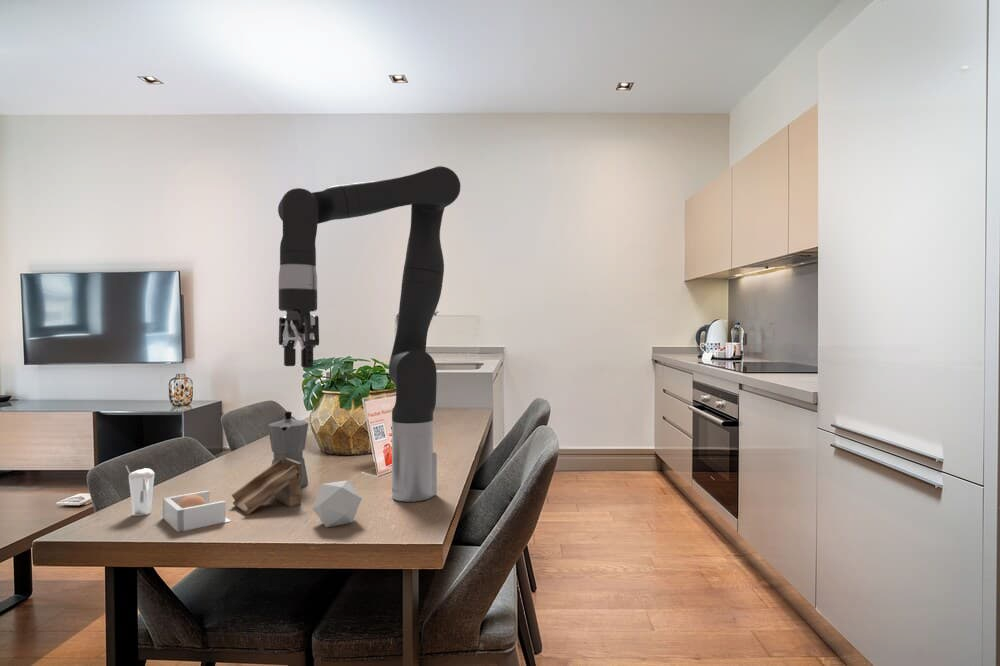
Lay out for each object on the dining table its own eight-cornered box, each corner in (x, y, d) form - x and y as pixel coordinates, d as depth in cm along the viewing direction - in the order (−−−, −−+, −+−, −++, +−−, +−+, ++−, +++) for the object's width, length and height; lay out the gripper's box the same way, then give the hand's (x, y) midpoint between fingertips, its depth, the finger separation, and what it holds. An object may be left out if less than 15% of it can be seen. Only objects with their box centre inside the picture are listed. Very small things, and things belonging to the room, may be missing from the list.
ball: (171, 499, 113) (178, 522, 114) (177, 505, 109) (185, 528, 110) (197, 488, 116) (205, 510, 117) (205, 493, 113) (212, 516, 114)
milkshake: (132, 510, 120) (132, 462, 120) (159, 510, 120) (159, 462, 120) (119, 517, 115) (119, 468, 115) (147, 517, 115) (147, 467, 116)
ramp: (286, 495, 130) (286, 457, 130) (301, 503, 124) (301, 463, 124) (231, 506, 122) (231, 465, 122) (244, 515, 116) (244, 472, 116)
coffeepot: (305, 491, 134) (305, 414, 134) (262, 493, 132) (262, 415, 132) (312, 475, 149) (312, 406, 149) (274, 477, 147) (274, 407, 147)
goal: (208, 509, 120) (208, 490, 120) (225, 522, 112) (225, 501, 112) (162, 518, 115) (162, 498, 115) (177, 532, 107) (177, 510, 107)
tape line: (212, 508, 121) (212, 507, 121) (231, 521, 113) (231, 520, 113) (206, 509, 121) (206, 508, 121) (224, 522, 112) (224, 522, 112)
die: (353, 516, 118) (325, 479, 117) (377, 502, 113) (347, 464, 113) (327, 542, 111) (296, 503, 110) (350, 529, 106) (318, 488, 106)
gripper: (331, 286, 115) (331, 367, 115) (301, 291, 126) (301, 364, 126) (294, 284, 110) (294, 369, 110) (266, 289, 120) (266, 366, 120)
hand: (298, 366), depth 118 cm, fingers open, 8 cm apart
